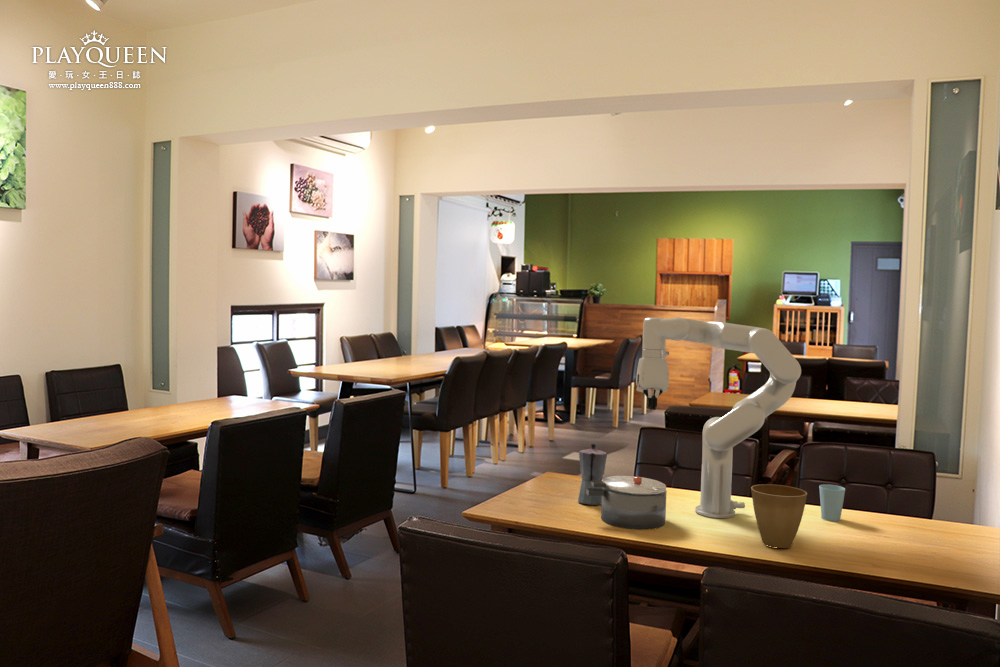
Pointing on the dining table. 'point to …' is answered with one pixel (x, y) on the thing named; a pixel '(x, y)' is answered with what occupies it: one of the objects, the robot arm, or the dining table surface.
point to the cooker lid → (631, 485)
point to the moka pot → (591, 473)
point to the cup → (831, 501)
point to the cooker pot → (631, 509)
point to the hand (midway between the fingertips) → (651, 409)
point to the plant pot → (778, 513)
